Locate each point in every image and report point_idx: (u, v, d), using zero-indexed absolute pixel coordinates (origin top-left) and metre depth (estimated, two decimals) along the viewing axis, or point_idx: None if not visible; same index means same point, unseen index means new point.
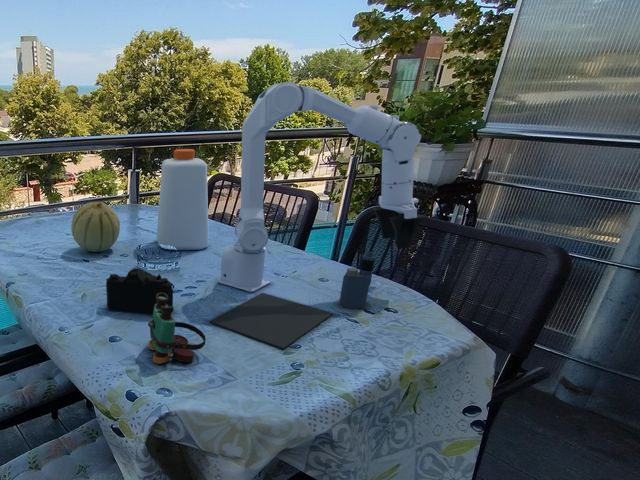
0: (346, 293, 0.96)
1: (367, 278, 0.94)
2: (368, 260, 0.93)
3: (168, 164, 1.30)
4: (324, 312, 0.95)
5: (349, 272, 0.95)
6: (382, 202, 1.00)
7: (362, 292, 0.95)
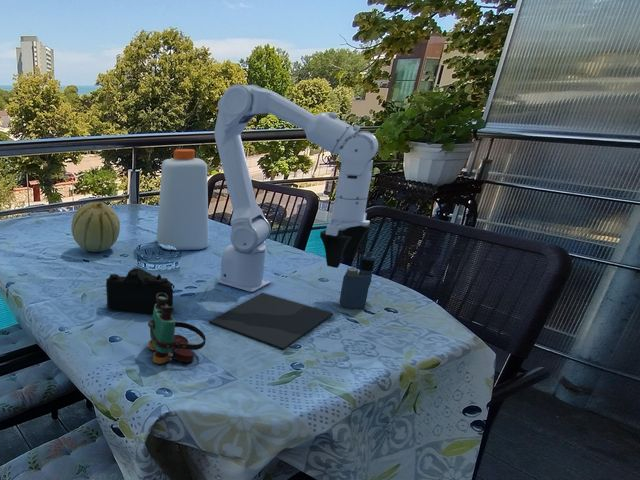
0: (346, 293, 0.96)
1: (367, 278, 0.94)
2: (368, 260, 0.93)
3: (168, 164, 1.30)
4: (324, 312, 0.95)
5: (349, 272, 0.95)
6: None
7: (362, 292, 0.95)
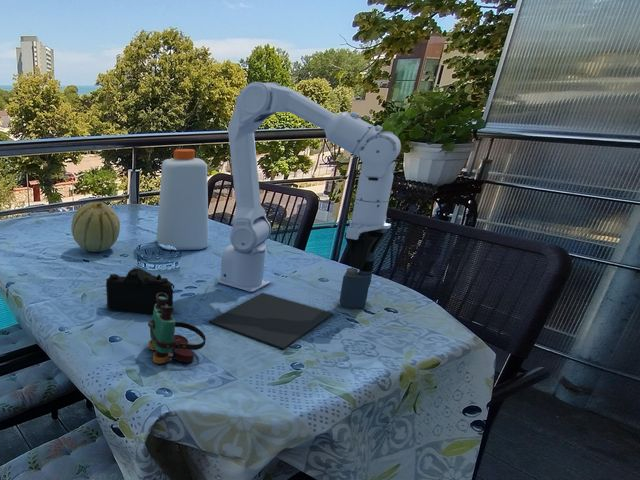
0: (346, 293, 0.96)
1: (367, 279, 0.94)
2: (368, 261, 0.92)
3: (168, 164, 1.30)
4: (324, 312, 0.95)
5: (349, 273, 0.94)
6: None
7: (362, 292, 0.95)
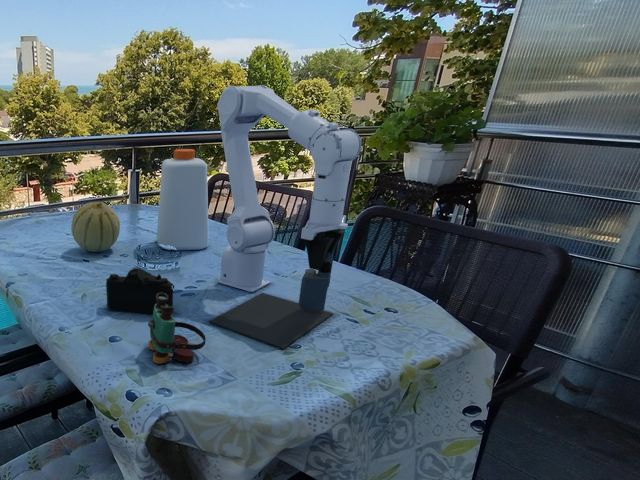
0: (304, 295, 0.93)
1: (325, 280, 0.91)
2: (326, 262, 0.90)
3: (168, 164, 1.30)
4: (324, 312, 0.95)
5: (307, 274, 0.92)
6: None
7: (321, 294, 0.92)
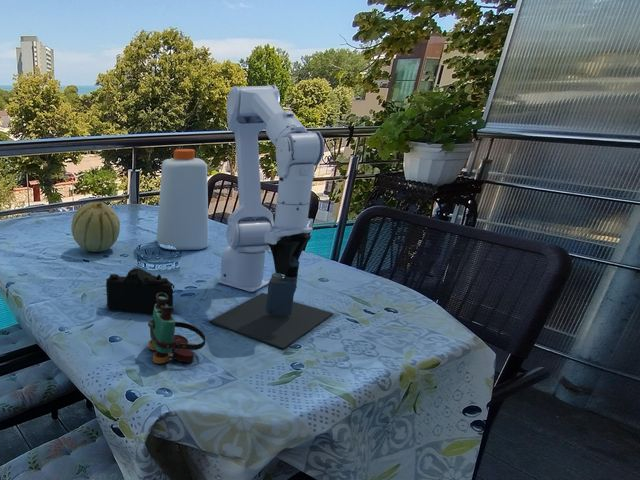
0: (271, 300, 0.92)
1: (292, 285, 0.90)
2: (291, 266, 0.88)
3: (168, 164, 1.30)
4: (324, 312, 0.95)
5: (273, 278, 0.90)
6: None
7: (287, 299, 0.91)
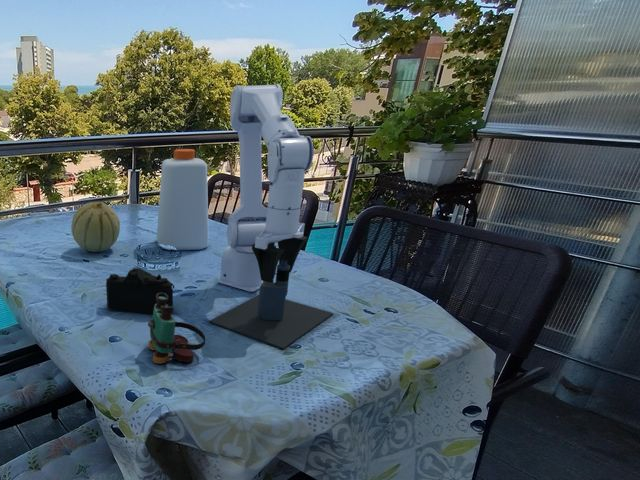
0: (262, 304, 0.92)
1: (283, 289, 0.90)
2: (282, 270, 0.88)
3: (168, 164, 1.30)
4: (324, 312, 0.95)
5: (264, 283, 0.90)
6: None
7: (278, 303, 0.91)
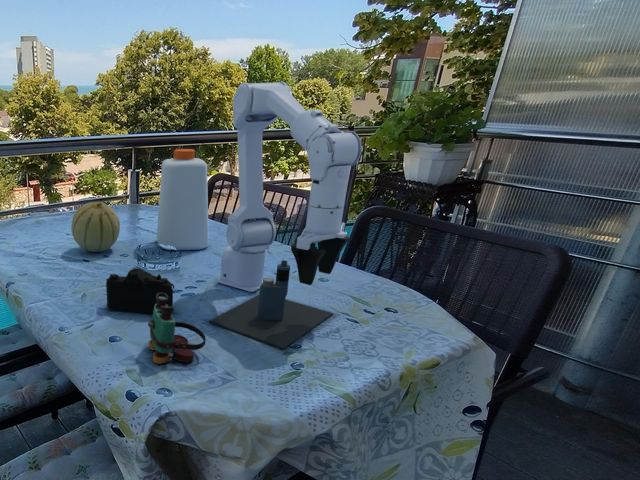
0: (262, 304, 0.92)
1: (283, 289, 0.90)
2: (282, 270, 0.88)
3: (168, 164, 1.30)
4: (324, 312, 0.95)
5: (264, 282, 0.90)
6: None
7: (278, 303, 0.91)
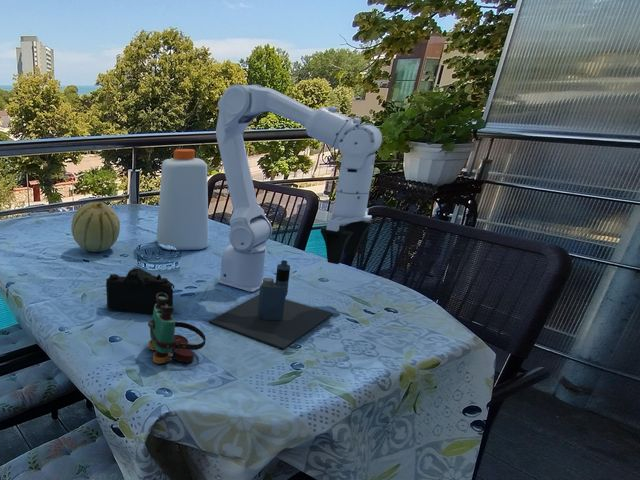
0: (262, 304, 0.92)
1: (283, 289, 0.90)
2: (282, 270, 0.88)
3: (168, 164, 1.30)
4: (324, 312, 0.95)
5: (264, 282, 0.90)
6: None
7: (278, 303, 0.91)
